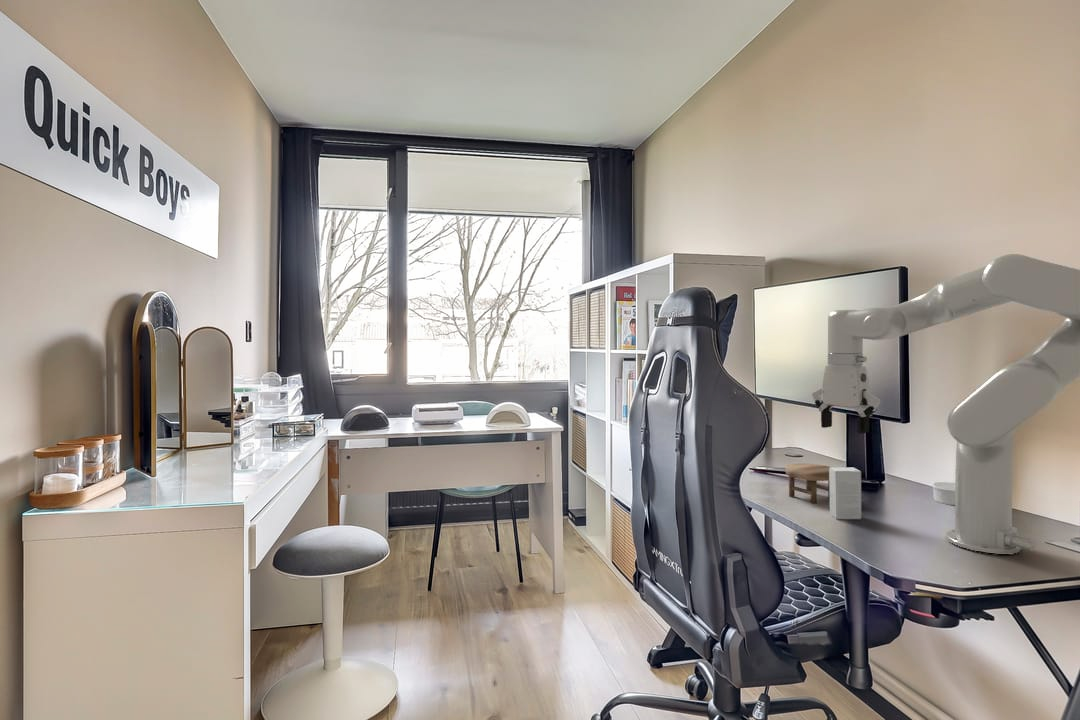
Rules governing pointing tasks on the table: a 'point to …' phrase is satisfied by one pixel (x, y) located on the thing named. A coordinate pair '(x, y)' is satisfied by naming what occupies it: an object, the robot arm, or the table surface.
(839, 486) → the skincare box
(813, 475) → the walnut stool
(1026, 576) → the table surface
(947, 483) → the ramekin
